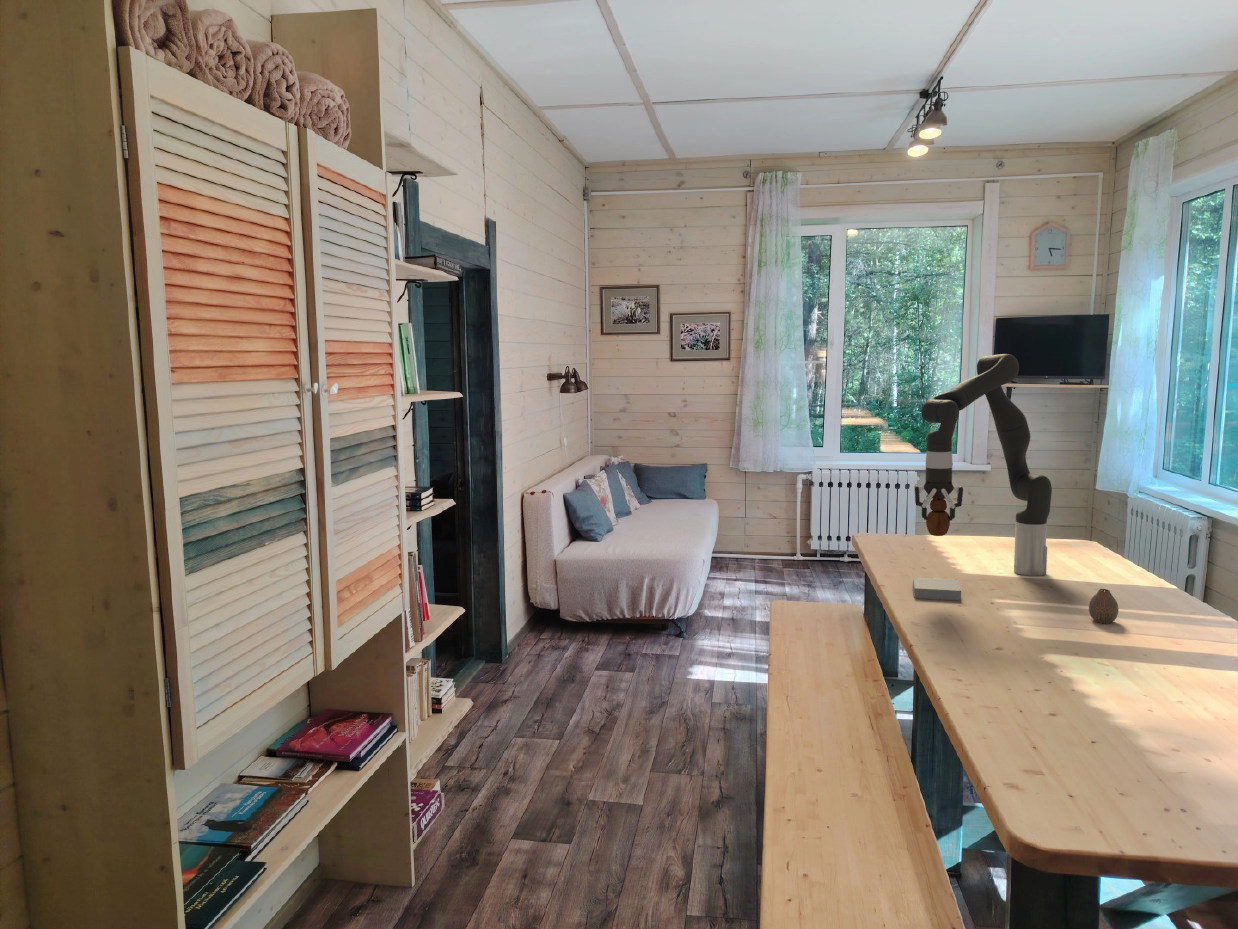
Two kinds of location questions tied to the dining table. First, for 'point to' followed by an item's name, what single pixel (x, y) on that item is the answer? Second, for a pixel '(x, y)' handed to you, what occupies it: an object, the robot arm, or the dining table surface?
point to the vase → (1103, 607)
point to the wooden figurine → (938, 517)
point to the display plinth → (936, 588)
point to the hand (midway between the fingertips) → (937, 519)
